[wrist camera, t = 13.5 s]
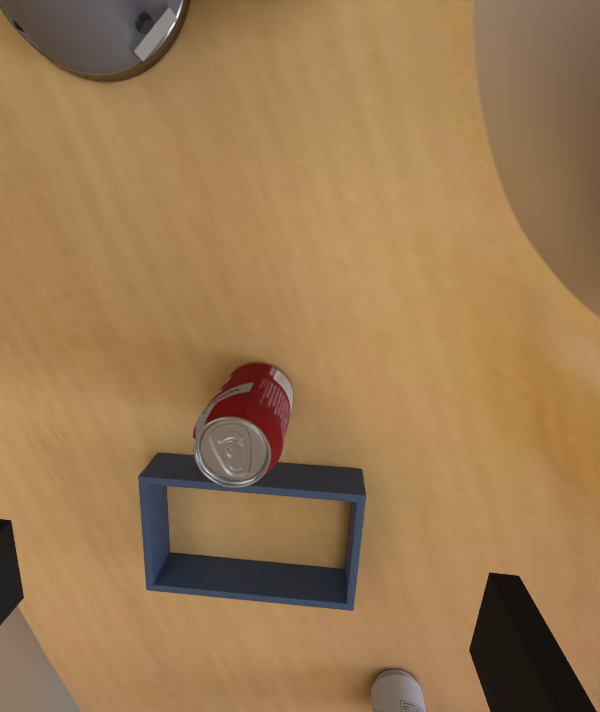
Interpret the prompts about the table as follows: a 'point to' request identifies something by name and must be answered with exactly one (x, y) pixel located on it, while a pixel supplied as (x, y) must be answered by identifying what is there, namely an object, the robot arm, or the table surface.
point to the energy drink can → (396, 693)
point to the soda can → (244, 426)
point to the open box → (248, 575)
